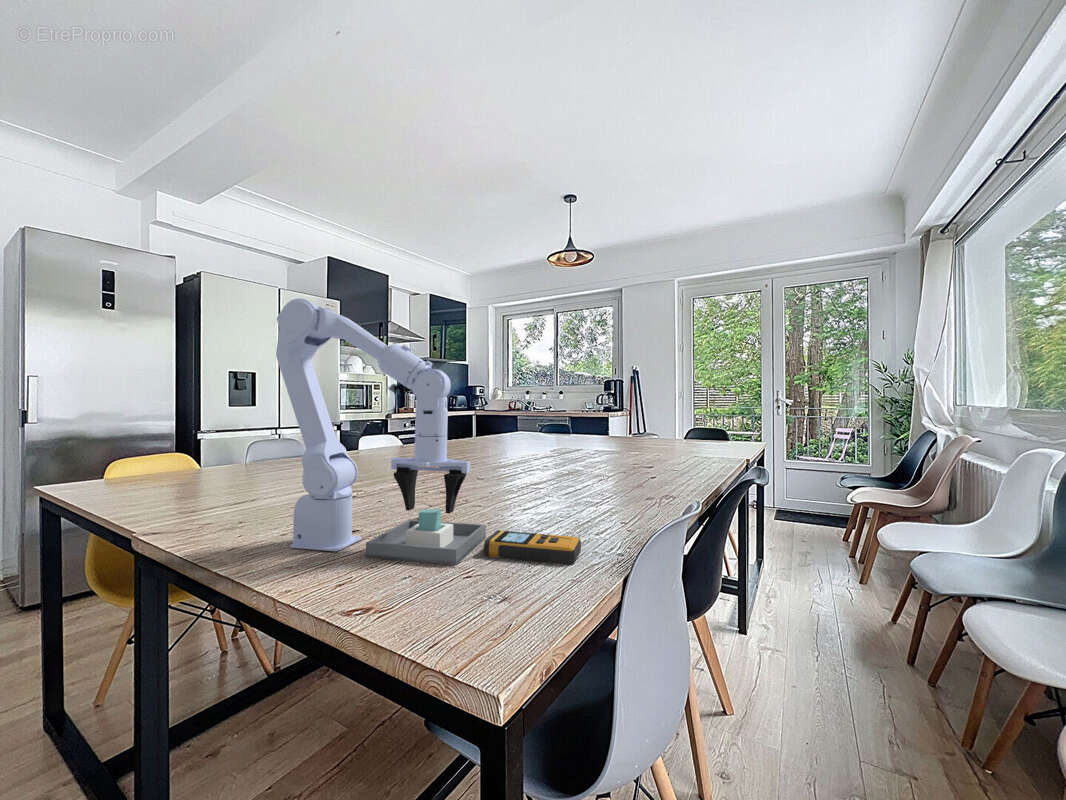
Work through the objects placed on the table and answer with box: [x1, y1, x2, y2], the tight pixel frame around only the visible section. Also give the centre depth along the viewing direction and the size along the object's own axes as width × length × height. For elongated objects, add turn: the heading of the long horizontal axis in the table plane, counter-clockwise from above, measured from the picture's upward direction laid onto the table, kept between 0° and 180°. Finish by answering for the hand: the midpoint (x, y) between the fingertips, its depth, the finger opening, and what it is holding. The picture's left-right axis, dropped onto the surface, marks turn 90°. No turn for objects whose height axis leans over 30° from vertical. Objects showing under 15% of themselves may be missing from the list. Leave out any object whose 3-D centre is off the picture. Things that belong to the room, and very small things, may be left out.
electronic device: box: [483, 530, 582, 566], centre depth 85 cm, size 8×16×3 cm, turn 75°
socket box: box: [365, 519, 487, 566], centre depth 88 cm, size 16×16×4 cm
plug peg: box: [418, 508, 442, 532], centre depth 88 cm, size 3×3×6 cm
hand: (429, 510), depth 88 cm, fingers open, 7 cm apart
